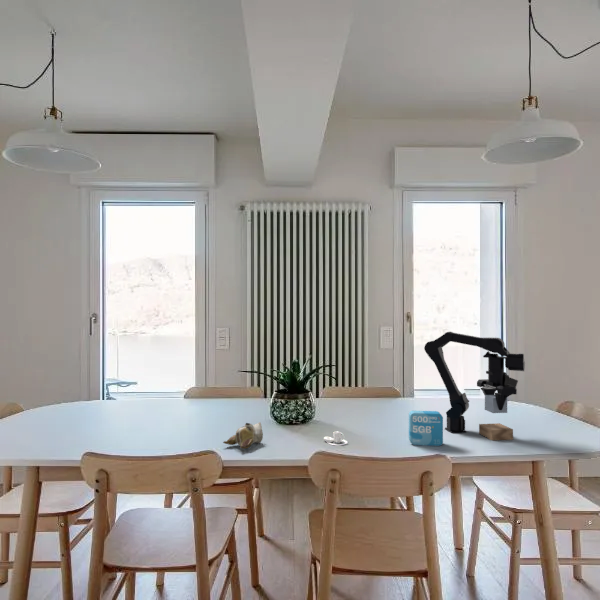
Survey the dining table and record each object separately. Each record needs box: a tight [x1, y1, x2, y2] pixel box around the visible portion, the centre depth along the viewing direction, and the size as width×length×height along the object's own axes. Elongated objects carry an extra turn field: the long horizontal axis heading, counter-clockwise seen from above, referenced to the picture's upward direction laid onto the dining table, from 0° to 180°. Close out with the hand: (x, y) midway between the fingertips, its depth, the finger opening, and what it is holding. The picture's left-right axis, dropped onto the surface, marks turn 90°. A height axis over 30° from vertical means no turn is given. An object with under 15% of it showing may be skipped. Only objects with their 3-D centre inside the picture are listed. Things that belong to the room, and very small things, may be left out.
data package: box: [408, 410, 444, 447], centre depth 169 cm, size 12×4×12 cm, turn 84°
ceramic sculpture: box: [222, 422, 264, 450], centre depth 166 cm, size 11×9×15 cm
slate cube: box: [484, 394, 508, 414], centre depth 179 cm, size 6×6×6 cm
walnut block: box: [478, 422, 514, 441], centre depth 179 cm, size 9×9×4 cm
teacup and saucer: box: [323, 430, 348, 446], centre depth 171 cm, size 9×8×4 cm
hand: (495, 408), depth 179 cm, fingers closed on slate cube, 6 cm apart
